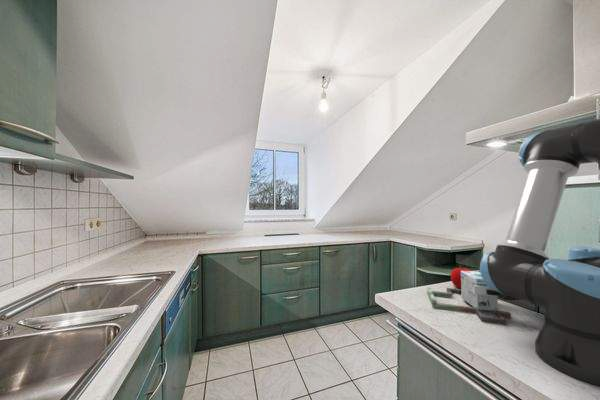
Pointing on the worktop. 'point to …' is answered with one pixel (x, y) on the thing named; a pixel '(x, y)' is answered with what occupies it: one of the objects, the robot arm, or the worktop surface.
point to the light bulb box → (476, 299)
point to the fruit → (457, 276)
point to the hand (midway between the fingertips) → (468, 283)
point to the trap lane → (465, 307)
